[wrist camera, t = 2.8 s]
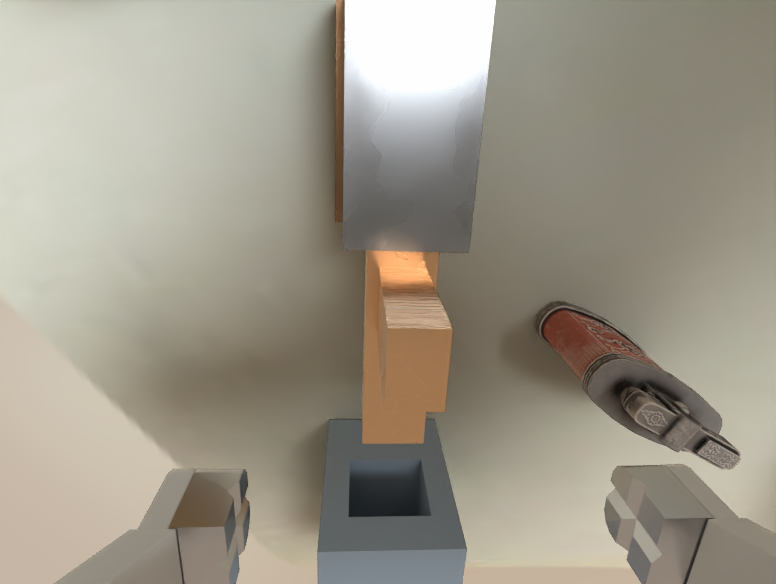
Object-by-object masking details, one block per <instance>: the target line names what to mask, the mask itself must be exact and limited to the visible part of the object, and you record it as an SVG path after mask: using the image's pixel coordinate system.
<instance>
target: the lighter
mask: <svg viewBox="0 0 776 584" xmlns="http://www.w3.org/2000/svg"><path fill="white" fill-rule="evenodd" d="M535 329H536V331H537V333H538V334H539V336H540V337H541V338H542V339H543V340H544V341H545V342H546V343H547V344H548V345H549V346H550V347H551V348H552V349H554V350H555V351H556V352H557V353H558V354H559V355H560V356H561V357H562V358H563V360H564V361H565V362H566V363H567V364H568V366H569V367H570V368H571V369H572V370H573V372H574V373H575V374H576V375H577V376H578V378H579V379H580V380H581V381H582V386H583V389H584V391H585V392H586V394H587V395H588V396H589V397H590V398H591V400H592V401H593V402H594V403H595V404H596V405H597V406H599V407H600V408H601V409H602V410H603V411H604V412H605V413H607V414H608V415H609V416H610V417H611V418H612V419H614V420H615V421H617V422H618V423H620V424H621V425H623V426H624V427H626V428H627V429H629V430H631V431H632V432H634V433H635V434H638V435H640V436H642V437H645V438H647V439H649V440H651V441H654V442H656V443H658V444H661V445H664V446H667V447H669V448H670V449H672V450H674V451H676V452H679V451H680V450H681V451H687V452H691V453H693V454H694V455H696V456H698V457H700V458H702V459H703V460H705V461H707V462H709V463H711V464H713V465H714V466H716V467H718V468H720V469H727V470H730V469H732V468H734V467H735V466H736V465H737V464H738V463H739V462H740V460H741V459H740V456H741V454H740V452H739V451H738V450H737V449H736V448H735V447H734V446H733V445H731V444H730V443H729V442H728V441H727V440H726V439H725V438H724V437H722V436H721V435H719V432H720V430H721V427H722V419H721V417H720V415H719V414H718V413H717V412H716V411H715V410H714V409H713V408H712V407H711V406H710V405H709V404H708V403H707V402H706V401H705V400H704V399H703V398H702V397H701V396H700V395H699V394H697V393H696V392H695V391H694V390H693V389H691V388H690V387H688V386H687V385H686V384H684V383H683V382H681V381H680V380H679V379H677V378H676V377H674V376H673V375H672V374H670V373H668V372H666V371H664V370H663V369H662V368H660V367H659V366H658V365H657V364H656V363H654V362H653V361H652V360H651V359H650V358H649V357H648V356H647V355H646V353H645V352H644V351H643V350H642V349H641V348H640V347H639V346H638V345H637V344H636V343H635V342H634V341H633V340H632V339H631V338H630V337H629V336H628V335H626V334H625V333H624V332H623V331H621V330H620V329H619V328H617V327H616V326H614V325H613V324H612V323H610V322H609V321H608V320H606V319H604V318H602V317H600V316H598V315H596V314H594V313H592V312H590V311H588V310H586V309H584V308H581V307H578V306H575V305H572V304H569V303H567V302H563V301H555V302H551V303H549V304H548V305H546V306H544V307H543V308H542V309H541V310H540V312H539V313H538V315H537V317H536V320H535Z"/></svg>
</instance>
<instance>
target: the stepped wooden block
mask: <svg viewBox="0 0 776 584" xmlns="http://www.w3.org/2000/svg"><path fill="white" fill-rule="evenodd" d="M438 264H439V252H408V251H367V250H366V265H365V303H364V340H363V377H362V444H419V443H424V432H425V420H426V412H445V405H446V395H447V385H448V375H449V365H450V355H451V345H452V335H453V328H452V325H451V323H450V321H449V319H448V316H447V314H446V312H445V310H444V307H443V305H442V303H441V300H440V298H439V296H438V294H437V291H436V288H437V276H438Z"/></svg>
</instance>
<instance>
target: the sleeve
mask: <svg viewBox="0 0 776 584" xmlns="http://www.w3.org/2000/svg"><path fill="white" fill-rule="evenodd" d="M495 3H496V0H336V174H335V222H343V250H367V251H408V252H450V253H469V248H470V239H471V229H472V220H473V210H474V201H475V192H476V182H477V173H478V163H479V154H480V144H481V135H482V126H483V116H484V107H485V97H486V88H487V78H488V69H489V60H490V50H491V41H492V31H493V22H494V12H495Z"/></svg>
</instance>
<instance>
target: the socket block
mask: <svg viewBox="0 0 776 584" xmlns="http://www.w3.org/2000/svg"><path fill="white" fill-rule="evenodd" d="M466 552H467V547H466V543H465V539H464V535H463V531H462V527H461V523H460V519H459V515H458V511H457V507H456V503H455V499H454V495H453V491H452V487H451V483H450V479H449V475H448V471H447V467H446V463H445V459H444V455H443V451H442V447H441V443H440V439H439V435H438V431H437V427H436V423H435V419H426V420H425V432H424V443H419V444H362V420H329V428H328V440H327V451H326V462H325V473H324V484H323V495H322V506H321V517H320V529H319V540H318V551H317V560H318V584H462V582H463V575H464V567H465V560H466Z"/></svg>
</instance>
